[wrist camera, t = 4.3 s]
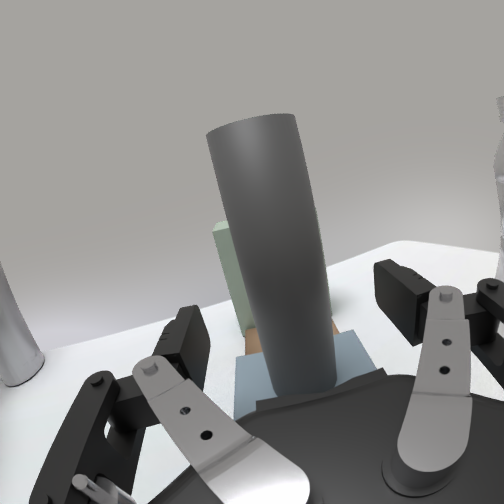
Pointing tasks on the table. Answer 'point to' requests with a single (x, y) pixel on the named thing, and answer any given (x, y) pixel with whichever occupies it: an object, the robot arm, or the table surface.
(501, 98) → the plastic bottle
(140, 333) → the table surface
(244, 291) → the gauge cabinet
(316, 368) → the cylinder
